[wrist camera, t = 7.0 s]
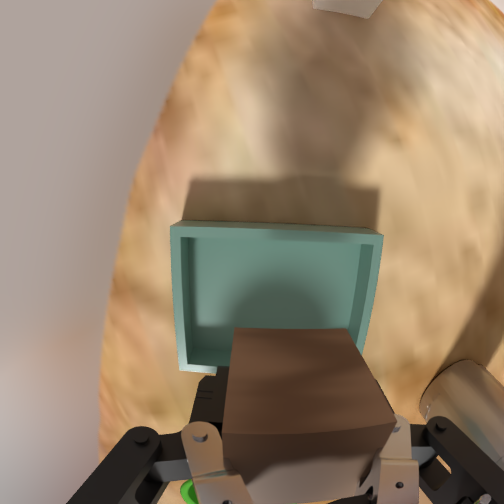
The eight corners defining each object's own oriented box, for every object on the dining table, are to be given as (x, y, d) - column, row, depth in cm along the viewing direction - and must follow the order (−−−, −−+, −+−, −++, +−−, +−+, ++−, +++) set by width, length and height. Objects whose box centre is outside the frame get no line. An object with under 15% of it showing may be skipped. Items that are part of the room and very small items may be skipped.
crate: (368, 228, 21) (383, 235, 18) (347, 353, 24) (357, 372, 21) (181, 220, 21) (170, 226, 18) (186, 350, 24) (179, 370, 21)
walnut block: (346, 328, 12) (397, 421, 6) (327, 406, 13) (352, 496, 8) (234, 327, 12) (221, 432, 6) (233, 407, 13) (226, 503, 8)
